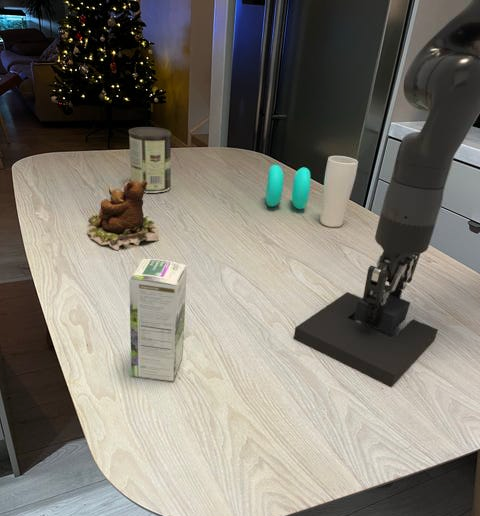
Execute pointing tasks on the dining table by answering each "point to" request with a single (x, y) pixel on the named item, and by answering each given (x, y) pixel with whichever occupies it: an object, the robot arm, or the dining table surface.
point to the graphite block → (385, 313)
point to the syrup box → (157, 318)
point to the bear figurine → (123, 218)
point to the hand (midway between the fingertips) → (380, 315)
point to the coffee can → (151, 157)
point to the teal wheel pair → (298, 191)
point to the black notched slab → (364, 341)
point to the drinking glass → (337, 189)
